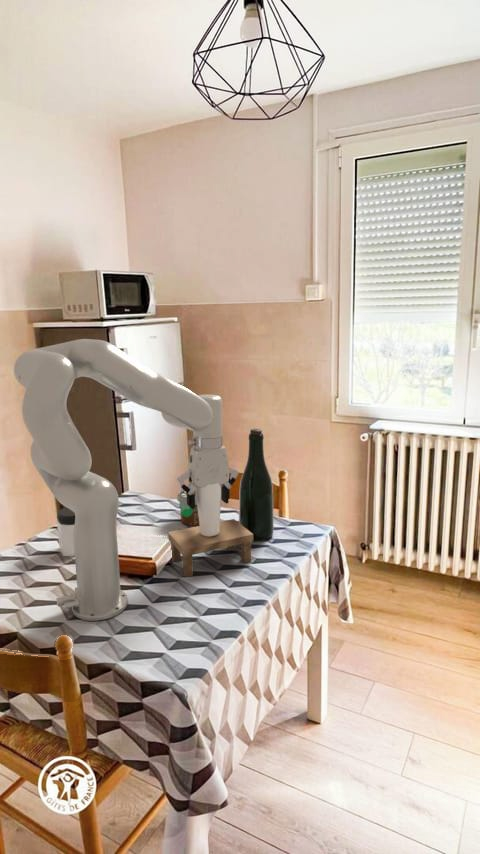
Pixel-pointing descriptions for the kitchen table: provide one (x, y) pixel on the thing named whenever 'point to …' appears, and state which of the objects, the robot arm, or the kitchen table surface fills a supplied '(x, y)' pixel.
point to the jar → (66, 531)
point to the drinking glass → (209, 509)
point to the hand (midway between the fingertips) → (208, 504)
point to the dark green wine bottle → (256, 491)
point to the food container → (188, 510)
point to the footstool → (209, 543)
